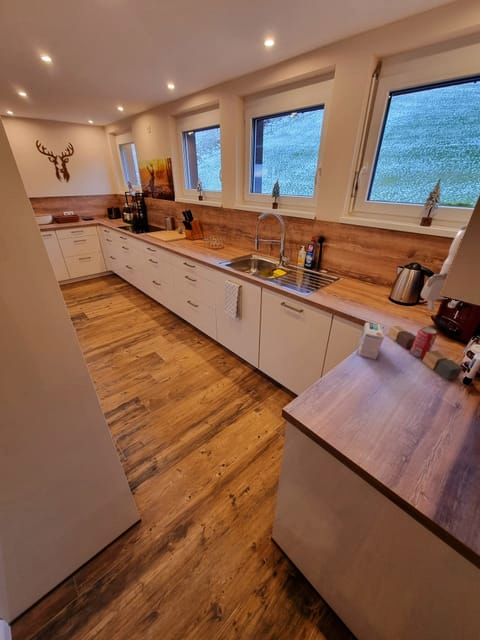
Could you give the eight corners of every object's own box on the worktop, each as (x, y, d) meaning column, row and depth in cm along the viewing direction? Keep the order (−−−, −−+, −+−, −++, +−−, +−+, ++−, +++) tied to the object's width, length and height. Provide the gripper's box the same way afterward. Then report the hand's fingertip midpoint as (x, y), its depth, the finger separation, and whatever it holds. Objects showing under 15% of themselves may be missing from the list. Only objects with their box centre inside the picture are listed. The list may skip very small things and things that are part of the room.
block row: (396, 334, 123) (399, 325, 121) (457, 378, 97) (463, 367, 94) (387, 335, 122) (390, 326, 120) (446, 380, 96) (452, 369, 93)
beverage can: (425, 352, 111) (436, 328, 105) (428, 360, 106) (440, 335, 100) (408, 348, 113) (418, 324, 107) (410, 356, 108) (421, 331, 102)
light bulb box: (358, 342, 116) (365, 321, 111) (375, 346, 114) (382, 324, 108) (358, 355, 107) (365, 333, 102) (376, 360, 105) (384, 337, 100)
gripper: (439, 277, 87) (424, 314, 94) (487, 274, 92) (469, 310, 98) (423, 271, 93) (410, 306, 99) (470, 269, 97) (454, 303, 104)
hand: (440, 308), depth 99 cm, fingers open, 8 cm apart
